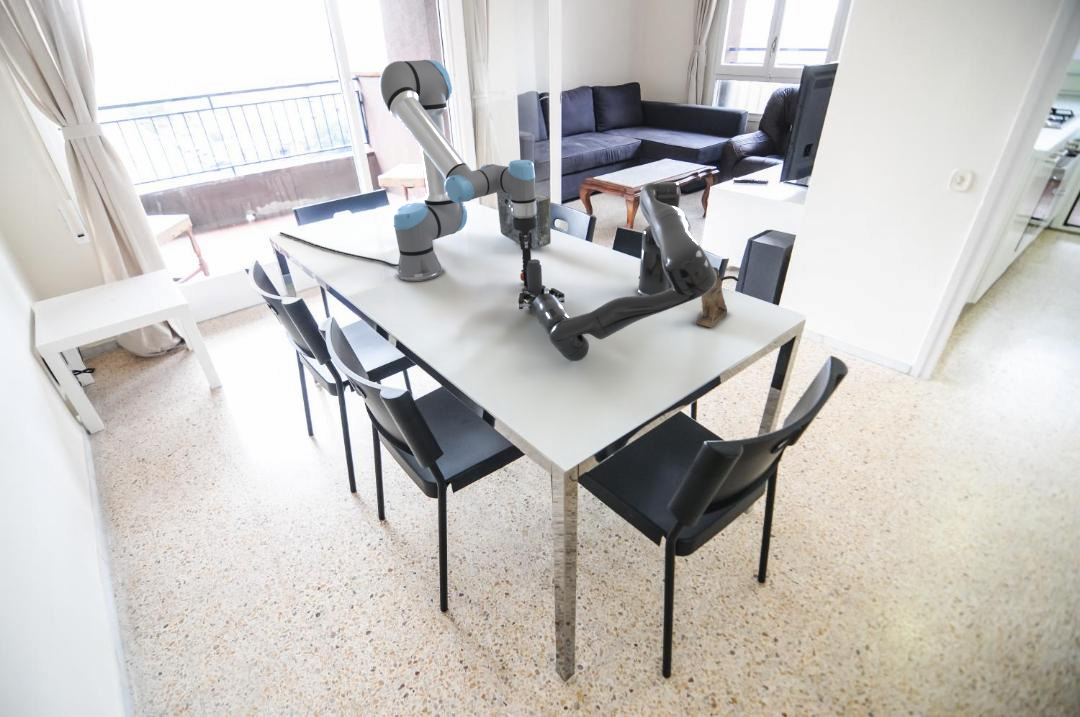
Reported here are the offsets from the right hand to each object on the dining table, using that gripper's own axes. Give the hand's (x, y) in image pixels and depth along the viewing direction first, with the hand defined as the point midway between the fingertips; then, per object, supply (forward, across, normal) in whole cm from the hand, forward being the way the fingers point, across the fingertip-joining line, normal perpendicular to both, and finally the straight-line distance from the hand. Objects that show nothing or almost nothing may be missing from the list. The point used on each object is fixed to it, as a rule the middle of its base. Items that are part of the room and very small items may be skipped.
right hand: (532, 288), depth 147 cm
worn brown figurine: (-24, +45, -6) cm, 52 cm away
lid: (+15, +2, -2) cm, 15 cm away
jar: (-3, 0, -6) cm, 7 cm away
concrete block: (+56, +13, -6) cm, 58 cm away
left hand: (+15, +2, -6) cm, 16 cm away
